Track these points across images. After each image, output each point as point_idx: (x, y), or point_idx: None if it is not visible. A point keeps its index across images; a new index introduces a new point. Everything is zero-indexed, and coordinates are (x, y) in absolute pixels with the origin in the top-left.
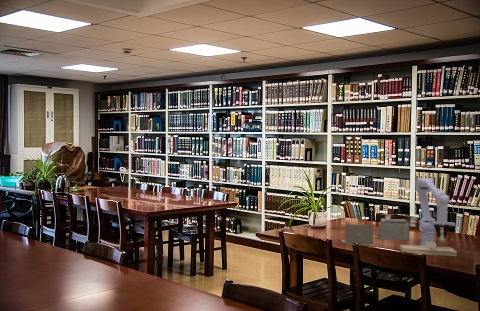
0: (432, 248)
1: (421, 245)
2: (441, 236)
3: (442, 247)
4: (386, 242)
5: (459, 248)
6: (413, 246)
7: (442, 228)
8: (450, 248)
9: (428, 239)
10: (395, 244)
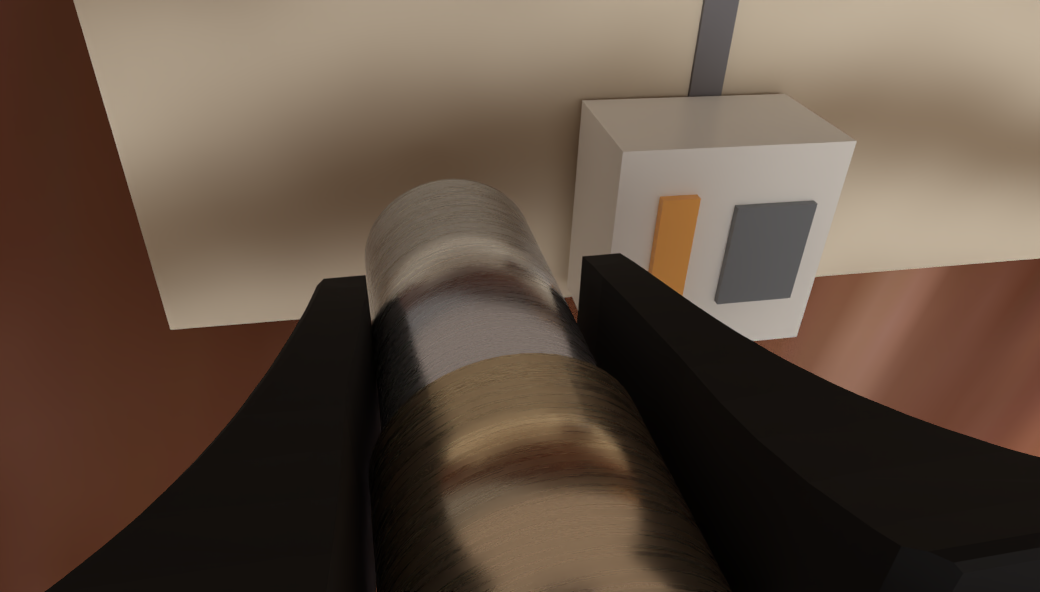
0: (675, 60)
1: None
2: (512, 268)
3: None
4: None
5: (6, 559)
6: (1006, 176)
7: (578, 571)
8: (186, 187)
9: None
10: None
